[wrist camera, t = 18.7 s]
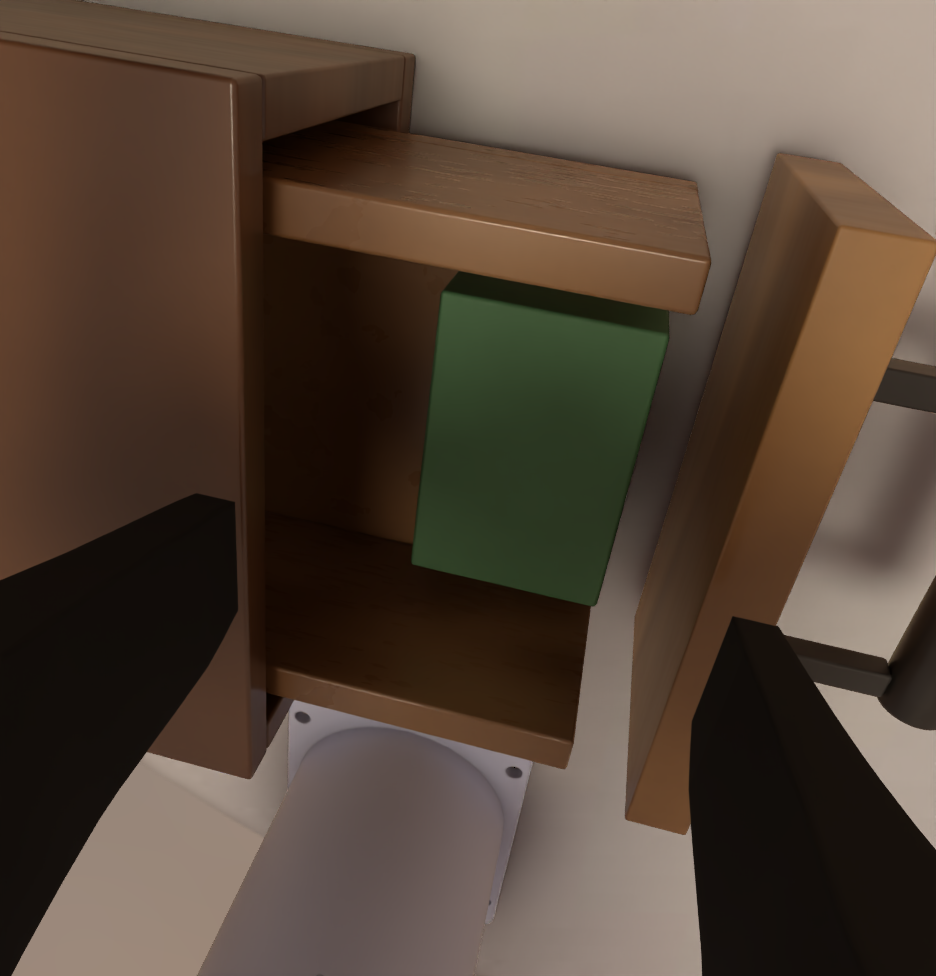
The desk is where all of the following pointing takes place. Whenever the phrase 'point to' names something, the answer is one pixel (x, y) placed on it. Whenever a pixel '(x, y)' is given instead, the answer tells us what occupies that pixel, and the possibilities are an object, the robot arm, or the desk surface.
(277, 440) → the drawer
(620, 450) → the block
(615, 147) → the desk surface
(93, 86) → the cabinet
